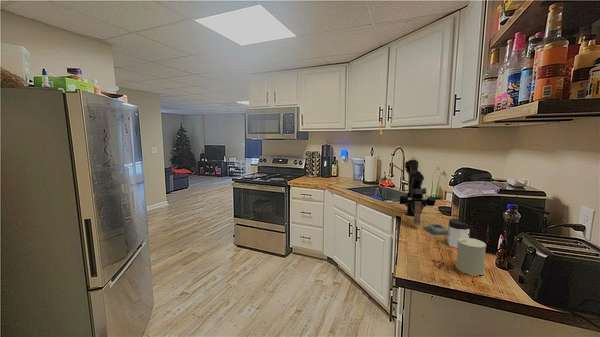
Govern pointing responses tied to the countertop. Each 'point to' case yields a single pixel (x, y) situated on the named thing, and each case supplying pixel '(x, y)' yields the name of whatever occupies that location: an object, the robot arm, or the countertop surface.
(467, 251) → the can
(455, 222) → the jar
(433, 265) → the countertop surface
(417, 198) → the robot arm
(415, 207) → the walnut stick
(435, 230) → the square frame on plate
